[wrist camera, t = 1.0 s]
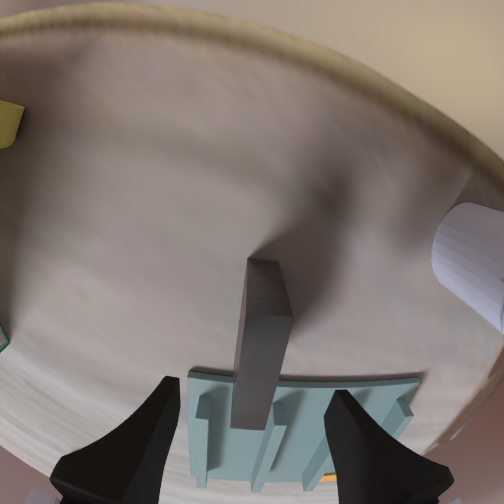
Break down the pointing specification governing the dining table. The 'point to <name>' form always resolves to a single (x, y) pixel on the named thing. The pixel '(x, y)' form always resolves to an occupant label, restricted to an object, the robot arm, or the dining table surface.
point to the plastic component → (9, 122)
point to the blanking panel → (259, 344)
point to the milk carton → (3, 340)
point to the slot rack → (281, 429)
